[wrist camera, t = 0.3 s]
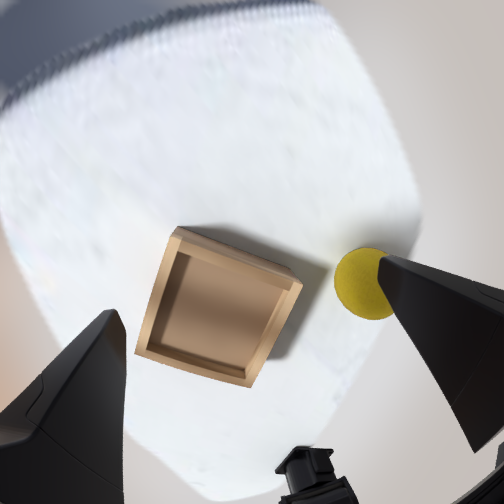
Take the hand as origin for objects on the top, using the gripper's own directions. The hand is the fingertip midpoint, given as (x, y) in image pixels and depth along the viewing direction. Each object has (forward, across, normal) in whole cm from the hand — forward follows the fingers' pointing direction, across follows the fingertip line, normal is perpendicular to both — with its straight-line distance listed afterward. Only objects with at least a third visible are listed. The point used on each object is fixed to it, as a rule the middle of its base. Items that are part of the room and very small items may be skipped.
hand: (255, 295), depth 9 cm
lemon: (+13, -11, +9) cm, 19 cm away
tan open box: (+13, +2, +10) cm, 17 cm away
